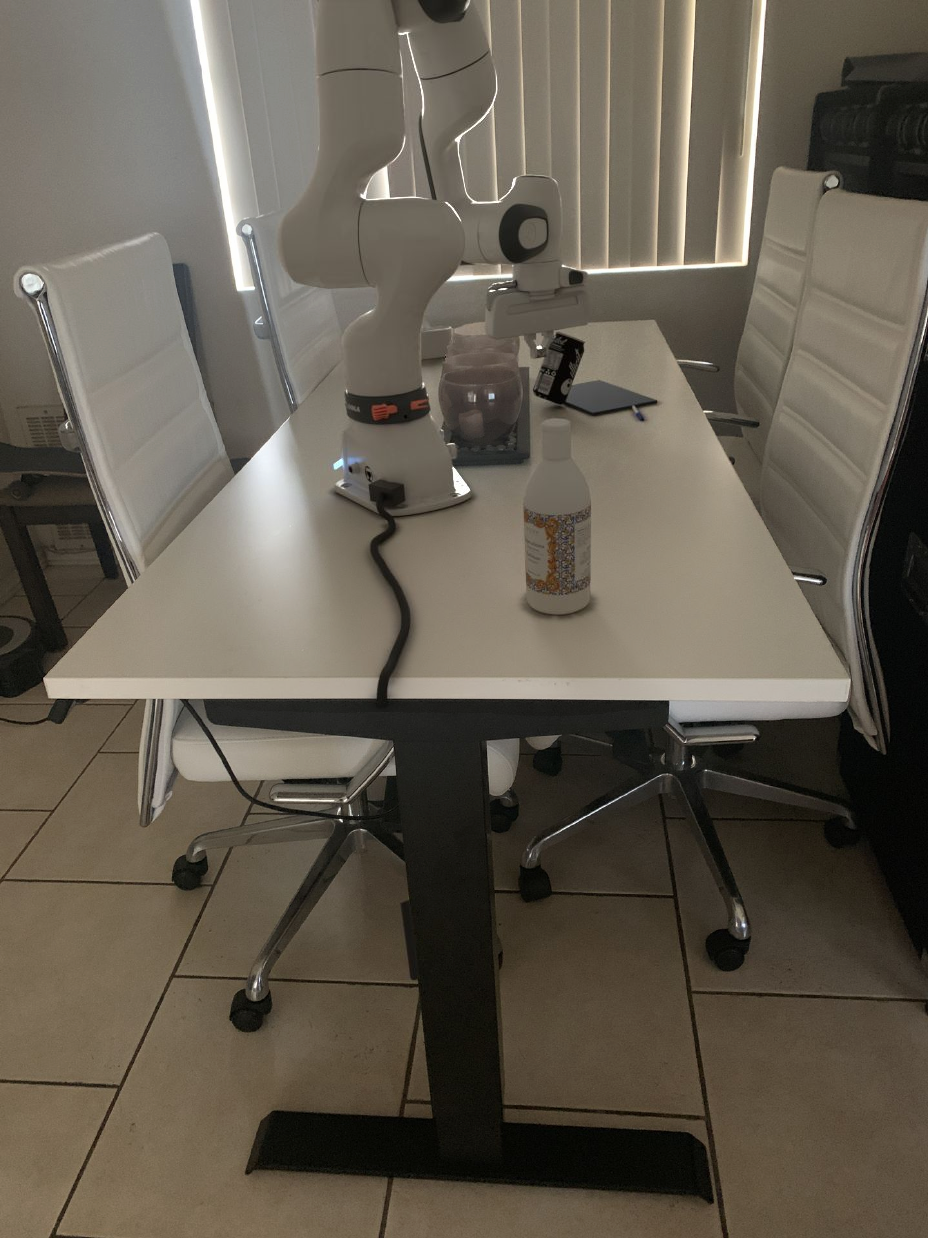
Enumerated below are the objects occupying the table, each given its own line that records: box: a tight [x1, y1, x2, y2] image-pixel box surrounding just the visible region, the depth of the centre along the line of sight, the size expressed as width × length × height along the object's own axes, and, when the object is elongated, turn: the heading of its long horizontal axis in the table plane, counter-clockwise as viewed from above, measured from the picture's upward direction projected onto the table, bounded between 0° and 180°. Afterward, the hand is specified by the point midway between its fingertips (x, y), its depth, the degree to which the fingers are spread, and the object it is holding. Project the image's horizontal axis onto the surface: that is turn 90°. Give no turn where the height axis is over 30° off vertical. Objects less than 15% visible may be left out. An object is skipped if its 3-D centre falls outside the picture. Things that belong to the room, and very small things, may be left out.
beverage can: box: [532, 330, 586, 406], centre depth 164 cm, size 7×7×12 cm
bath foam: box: [522, 418, 592, 616], centre depth 92 cm, size 7×7×20 cm
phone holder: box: [421, 315, 453, 361], centre depth 214 cm, size 17×10×18 cm, turn 15°
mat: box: [563, 379, 658, 416], centre depth 170 cm, size 20×14×1 cm
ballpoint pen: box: [631, 405, 645, 422], centre depth 160 cm, size 10×1×1 cm, turn 3°
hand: (539, 357), depth 162 cm, fingers closed
